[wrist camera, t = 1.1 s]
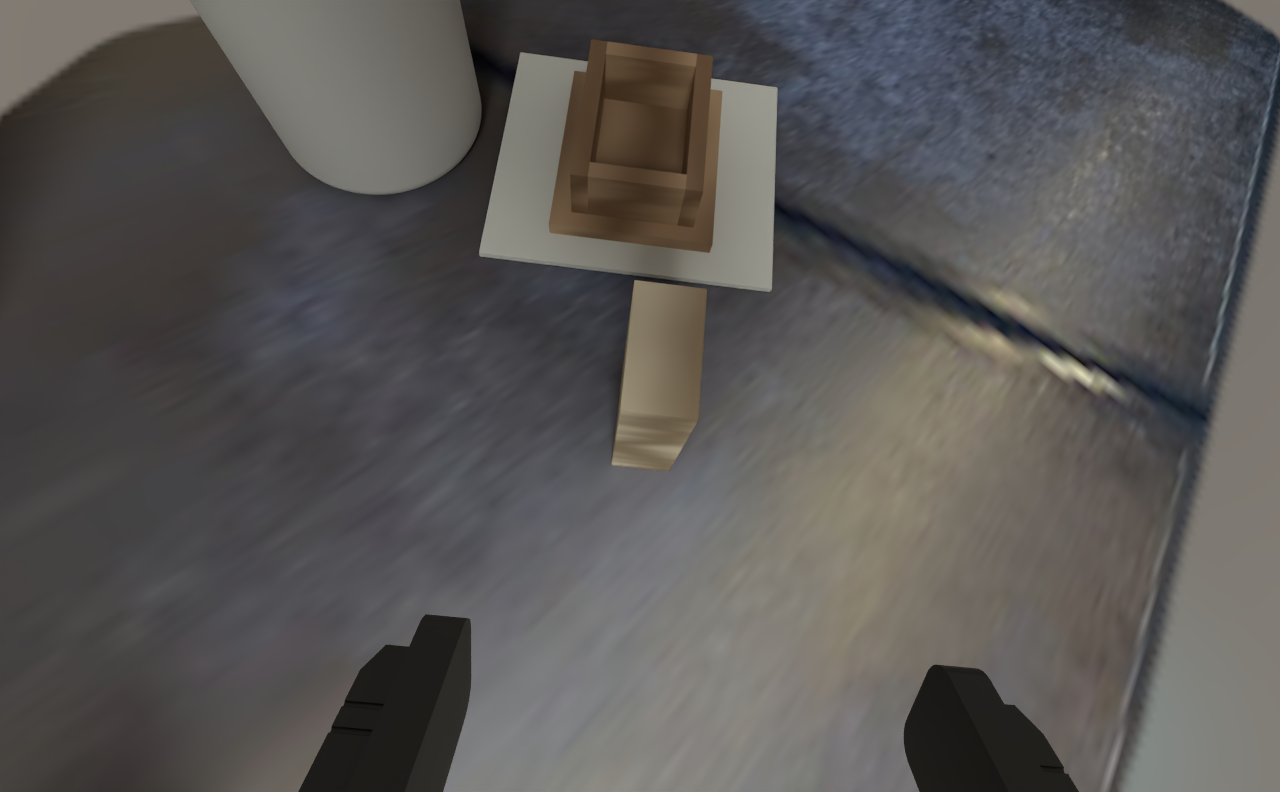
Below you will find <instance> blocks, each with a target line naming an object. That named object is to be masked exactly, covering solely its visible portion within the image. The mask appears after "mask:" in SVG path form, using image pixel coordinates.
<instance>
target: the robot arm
mask: <svg viewBox="0 0 1280 792" xmlns="http://www.w3.org/2000/svg"><path fill="white" fill-rule="evenodd" d="M470 688H471V622H470V619H469V618H458V617H448V616H437V615H425V616H424V617H423V618H422V620H421V621H420V624H419V626H418V628H417V630H416V633H415V635H414V637H413V639H412V642H411V644H410V646H409V647H406V646H395V645H385V646H384V647H383V648H382V649H381V650H380V651H379V652H378V653H377V654H376V655H375V656H374V657H373V658H372V659H371V660H370V661H369V662H368V663H367V664H366V665H365V666H364V667H363V668H362V669H360V671H359V673H358V675H357V677H356V679H355V681H354V683H353V685H352V687H351V689H350V691H349V693H348V695H347V697H346V699H345V703H344V706H342V707H341V709H340V711H339V713H338V715H337V717H336V719H335V721H334V723H333V725H332V729H331V732H330V733H328V734H327V736H326V738H325V740H324V742H323V744H322V746H321V748H320V750H319V752H318V754H317V756H316V758H315V760H314V762H313V764H312V766H311V768H310V770H309V772H308V774H307V776H306V778H305V780H304V782H303V784H302V786H301V788H300V790H299V792H443V790H444V786H445V783H446V780H447V776H448V773H449V770H450V766H451V763H452V760H453V756H454V753H455V750H456V746H457V743H458V740H459V736H460V733H461V730H462V726H463V723H464V719H465V716H466V712H467V707H468V702H469V696H470ZM904 746H905V752H906V756H907V760H908V763H909V766H910V768H911V771H912V773H913V776H914V779H915V781H916V784H917V786H918V789H919V791H920V792H1079V791H1078V790H1077V788H1076V786H1075V785H1074V783H1073V781H1072V780H1071V778H1070V777H1069V775H1068V774H1065V773H1064V770H1063V768H1064V767H1063V765H1062V764H1061V762H1060V760H1059V759H1058V757H1057V755H1056V754H1055V752H1054V751H1053V749H1052V747H1051V746H1050V744H1049V742H1048V741H1047V739H1046V738H1045V736H1044V734H1043V733H1042V732H1041V731H1040V730H1039V729H1038V728H1037V727H1036V726H1035V725H1034V724H1033V723H1032V722H1031V721H1030V720H1029V719H1028V718H1027V717H1026V716H1025V715H1024V714H1023V713H1022V712H1021V711H1020V710H1019V709H1018V708H1017V707H1016V706H1015V705H1006V704H1004V703H1003V701H1002V700H1001V698H1000V696H999V694H998V693H997V691H996V689H995V687H994V686H993V684H992V682H991V681H990V679H989V678H988V676H987V675H986V674H985V673H984V672H983V671H982V670H980V669H976V668H965V667H955V666H944V665H933V666H932V667H931V668H930V669H929V670H928V672H927V674H926V677H925V679H924V681H923V683H922V686H921V688H920V690H919V692H918V695H917V697H916V699H915V702H914V704H913V706H912V708H911V711H910V713H909V715H908V717H907V720H906V723H905V727H904Z"/></svg>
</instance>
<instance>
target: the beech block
mask: <svg viewBox="0 0 1280 792" xmlns="http://www.w3.org/2000/svg"><path fill="white" fill-rule="evenodd" d="M706 299H707V289H703V288H695V287H687V286H679V285H671V284H663V283H654V282H646V281H638V280H634V287H633V294H632V302H631V309H630V316H629V324H628V331H627V338H626V346H625V353H624V360H623V368H622V377H621V386H620V395H619V404H618V413H617V422H616V430H615V439H614V448H613V457H612V465H615V466H624V467H633V468H642V469H651V470H660V471H669V470H670V469H671V467H672V465H673V463H674V462H675V460H676V458H677V456H678V455H679V453H680V451H681V449H682V448H683V446H684V444H685V442H686V441H687V439H688V437H689V435H690V433H691V432H692V430H693V428H694V426H695V425H696V423H697V421H698V419H699V404H700V389H701V374H702V359H703V344H704V329H705V314H706Z"/></svg>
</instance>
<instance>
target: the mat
mask: <svg viewBox="0 0 1280 792" xmlns="http://www.w3.org/2000/svg"><path fill="white" fill-rule="evenodd" d="M587 64H588V61H580V60H573V59H566V58H558V57H551V56H544V55H537V54H529V53H522V52H520V57H519V62H518V67H517V72H516V76H515V81H514V86H513V91H512V96H511V101H510V105H509V110H508V115H507V120H506V125H505V129H504V134H503V139H502V144H501V149H500V154H499V158H498V163H497V168H496V173H495V178H494V183H493V187H492V192H491V197H490V202H489V207H488V211H487V216H486V221H485V226H484V231H483V236H482V240H481V245H480V250H479V255H480V256H481V257H489V258H497V259H505V260H513V261H521V262H530V263H538V264H546V265H554V266H562V267H570V268H578V269H586V270H595V271H603V272H611V273H619V274H627V275H635V276H643V277H651V278H659V279H668V280H676V281H684V282H692V283H700V284H708V285H716V286H724V287H733V288H741V289H749V290H757V291H765V292H770V291H771V290H772V263H773V227H774V191H775V155H776V119H777V87H770V86H762V85H755V84H748V83H741V82H733V81H726V80H719V79H711V89H712V90H720V91H722V106H721V122H720V137H719V153H718V168H717V183H716V199H715V214H714V230H713V244H712V247H711V250H710V253H706V252H698V251H690V250H682V249H674V248H666V247H658V246H650V245H642V244H634V243H626V242H618V241H610V240H602V239H594V238H586V237H578V236H570V235H562V234H554V233H550V231H549V219H550V213H551V207H552V201H553V195H554V189H555V183H556V177H557V171H558V165H559V159H560V153H561V147H562V141H563V135H564V129H565V123H566V117H567V111H568V105H569V99H570V93H571V88H572V82H573V76H574V71H580V72H586V70H587Z"/></svg>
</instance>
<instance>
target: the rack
mask: <svg viewBox="0 0 1280 792" xmlns="http://www.w3.org/2000/svg"><path fill="white" fill-rule="evenodd" d="M712 64H713V56H709V55H701V54H694V53H687V52H680V51H673V50H665V49H658V48H651V47H644V46H636V45H629V44H622V43H615V42H608V41H600V40H593V39H591V45H590V51H589V58H588V64H587V70H586V72H580V71H574V76H573V82H572V88H571V93H570V99H569V105H568V111H567V117H566V123H565V129H564V135H563V141H562V147H561V153H560V159H559V165H558V171H557V177H556V183H555V189H554V195H553V201H552V207H551V213H550V219H549V231H550V233H554V234H562V235H570V236H578V237H586V238H594V239H602V240H610V241H618V242H626V243H634V244H642V245H650V246H658V247H666V248H674V249H682V250H690V251H698V252H706V253H710V250H711V247H712V244H713V230H714V214H715V199H716V183H717V168H718V153H719V137H720V122H721V106H722V91H720V90H712V89H711V78H712Z"/></svg>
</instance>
